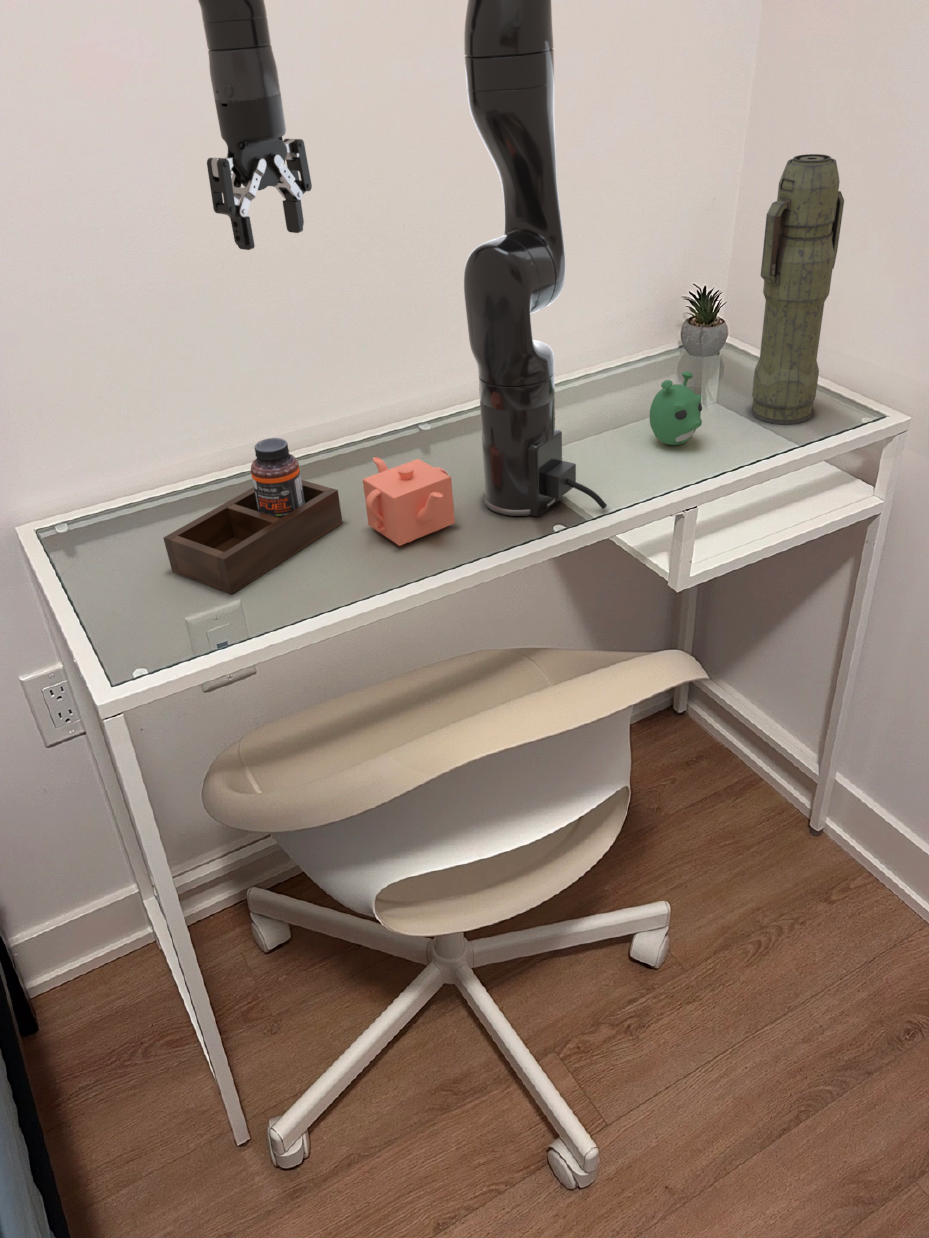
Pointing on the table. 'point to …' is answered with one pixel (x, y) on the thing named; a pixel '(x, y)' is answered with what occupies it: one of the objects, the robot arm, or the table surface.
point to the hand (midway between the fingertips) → (271, 240)
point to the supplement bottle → (276, 478)
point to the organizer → (249, 538)
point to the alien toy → (675, 412)
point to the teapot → (408, 500)
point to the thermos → (796, 287)
